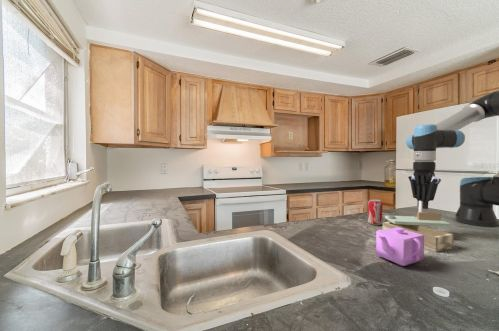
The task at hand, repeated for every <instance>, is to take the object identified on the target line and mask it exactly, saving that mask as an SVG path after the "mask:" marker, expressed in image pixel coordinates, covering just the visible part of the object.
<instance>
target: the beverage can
mask: <svg viewBox="0 0 499 331" xmlns="http://www.w3.org/2000/svg"><path fill="white" fill-rule="evenodd" d="M368 200H369V201H368V202H367V223H368V224H370V225H372V226H381V225H383V203H382V200H381V199H374V198H373V199H368Z"/></svg>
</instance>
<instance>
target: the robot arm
mask: <svg viewBox="0 0 499 331" xmlns="http://www.w3.org/2000/svg"><path fill="white" fill-rule="evenodd" d="M497 116H498V117H499V90H497V91H493V92H490V93H487V94H485V95H483V96H481V97H479V98H477V99H475V100H473V101H472V102H470V103H468V104H466V105H464V107H462V109H461V110H459V111H458V112H456V113H454V114H452V115H450V116H449V117H447V118H445V119H443V120H441V121H440V122H438V123H436V124H433V123H432V124H431V123H430V124H429V123H426V124H420V125H416V126H415V127H414V131H413V134H411V135H409V136H407V138H406V140H405V144H406V147H407V148H408V149H410V150H413V162H412V170H413V173H412V175H411V176H410V175H409V176H407V177H408V180H409V182H410V183H409V184H410V188H411V194H412V197H413V199H416V201H417V206H416V207H417V208H418V211H417V212H427V210H428V209H429V202H431V201H432V202H433V201H434V199H435V196H436V193H437V190H438V187H439V184H440V183H441V182H442V179H441V178H437V176H436V174H435V171H436V167H437V166H436V165H437V164H436V162H435V161H436V160H437V149H443V148H445V149H446V148H449V149H453V148H459V147H461V146H462V145H463V144H464V143H465V141H466V135H465V133H464V132H463V131H461V129H463V128H465V127H466V126H468V125H470V124H471V123H477V122H480V121H483V120H484V119H488V118H493V117H497ZM459 182H460V183H459V207H458V209H457V210H456V213H455V216H454V220H455V221H457V222H459V223H462V224H466V225H471V226H480V227H489V228H491V227H492V228H493V227H499V220H498V218H497V216H496V213H495V211H494V206H498V207H499V170H498V172H497V173H496V174H494V175H493V176H481V177H480V176H477V177H476V176H474V177H473V176H471V177H463V178H461V179H460V181H459Z"/></svg>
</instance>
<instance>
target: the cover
mask: <svg viewBox="0 0 499 331" xmlns="http://www.w3.org/2000/svg"><path fill="white" fill-rule="evenodd" d="M384 219H386V220H387V221H388V222H392V223H394V224H403V225H419V226H423V227H429V226H430V227H446V228H447V227H448V228H451V226H452V225H451V223H450V222H447V221H445V220H443V219H442V213H440V212H418V211H417V212H416V216H412V215H411V216H407V215H405V216H404V215H387V214H386V215H384Z"/></svg>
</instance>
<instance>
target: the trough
mask: <svg viewBox="0 0 499 331" xmlns="http://www.w3.org/2000/svg"><path fill="white" fill-rule="evenodd" d="M391 228H403V229H404V230H407V231H411V232H414V233H418V234H422V235H424V250H428V251H430V252H433V253H438V252H442V251H447V250H451V249H452V250H453V249H454V246H455V245H454V242H455V241H454V240H455V239H454V238H455V236H454V233H450V232H446V231H442V230H439V229H434V228H431V227H428V226H423V225H403V224H394V223H392V222H390V221H385V222H384V221H382V226H381V230H386V229H391Z"/></svg>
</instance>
